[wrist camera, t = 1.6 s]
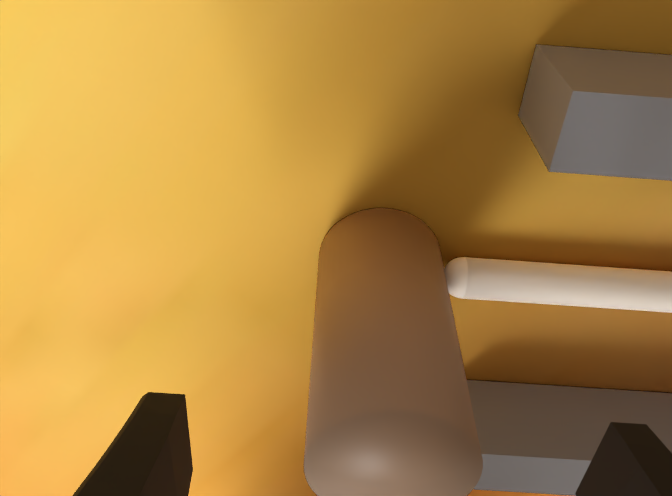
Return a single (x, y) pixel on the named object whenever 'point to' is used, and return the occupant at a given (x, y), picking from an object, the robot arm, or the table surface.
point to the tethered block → (418, 351)
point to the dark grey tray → (593, 159)
